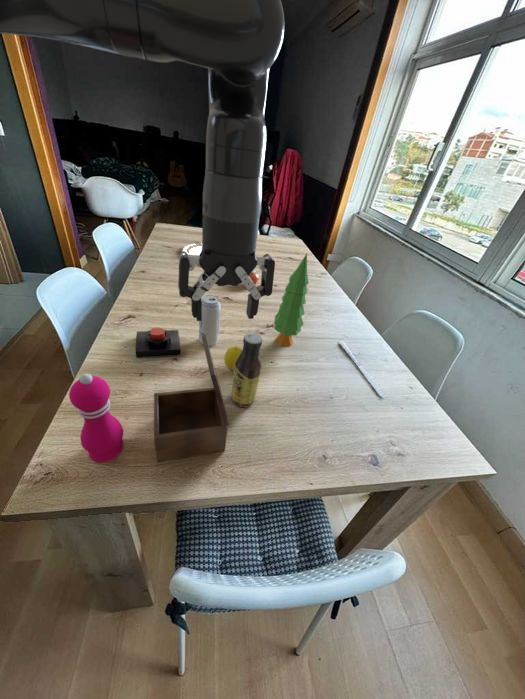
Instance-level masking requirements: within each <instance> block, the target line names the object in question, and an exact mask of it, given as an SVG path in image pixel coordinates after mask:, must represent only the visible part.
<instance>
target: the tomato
mask: <svg viewBox="0 0 525 699" xmlns="http://www.w3.org/2000/svg"><path fill="white" fill-rule="evenodd" d="M249 277H250V279H251V280H252V282H253V283H254V285H255V286H256V285H257V284H258V282H259V279H260V275H259V274H258V272H257V271H256V270H255V269H254V270H253V271H252V272H251V273H250V275H249Z"/></svg>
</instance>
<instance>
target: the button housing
mask: <svg viewBox="0 0 525 699" xmlns="http://www.w3.org/2000/svg"><path fill="white" fill-rule="evenodd" d="M150 330H151V329H150ZM150 330H145V331H136V338H135V349H134V350H135V351H134V354H135V358H136V359H141V358H142V359H143V358H156V357H157V358H158V357H170V356H171V357H173V356H181V343H180V333H179V329H170V330H167V329H164V330H165V337H164V338H163V339H161V340H154V339H152V338H151V337H150Z"/></svg>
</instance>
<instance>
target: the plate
mask: <svg viewBox="0 0 525 699" xmlns="http://www.w3.org/2000/svg"><path fill="white" fill-rule="evenodd" d="M200 243H201V244H202V242H200ZM193 245H196V244H195V243H190V244H187V245H185V246H184V247H182V249H183V250H181V252H182V251H185V252H186V253H187V254H190V255H200V253H201V251H202V246H197V247H193V248H191V249H190V250H189V253H188V252H187V249H188V248H189V247H190V246H193Z"/></svg>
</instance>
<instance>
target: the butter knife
mask: <svg viewBox="0 0 525 699" xmlns="http://www.w3.org/2000/svg"><path fill="white" fill-rule="evenodd" d="M338 343H339V345H340V346H341V348H342V349H343V350H344V351H345V353H346V354H347V355H348V356H349V357H350V358H351V360H352V361H353V362H354V363H355V365H356V366H357V367H358V368H359V370H360V371H361V373H362V374H363V376H364V377H365V379H366V380H367V381H368V382H369V384H370V385H371V386H372V388H374V390H375V391H376V393H377V394H378V395H379V397H384V394H383V392H382V390H381V388H380V386H379V384H378V383H377V381H376V380H375V379H374V377H373V376H372V375H371V374H370V373H369V372H368V371H367V370H366V369H365V368H364V367H363V366H362V365H361V363H360V362H359V361H358V360H357V359H356V357H355V356H354V355H353V353H352V351H351V349H349V348H350V347H348V346H347V344H346V343H345V342H344V341H343V340H338Z"/></svg>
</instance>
